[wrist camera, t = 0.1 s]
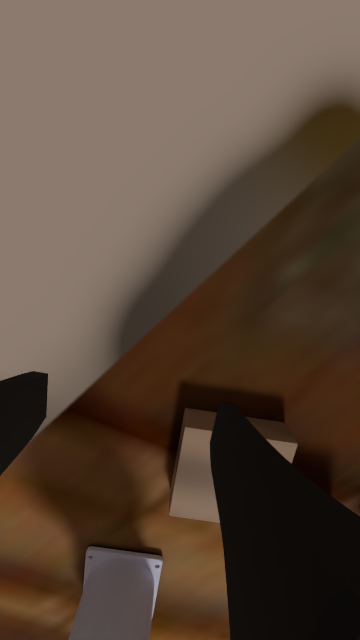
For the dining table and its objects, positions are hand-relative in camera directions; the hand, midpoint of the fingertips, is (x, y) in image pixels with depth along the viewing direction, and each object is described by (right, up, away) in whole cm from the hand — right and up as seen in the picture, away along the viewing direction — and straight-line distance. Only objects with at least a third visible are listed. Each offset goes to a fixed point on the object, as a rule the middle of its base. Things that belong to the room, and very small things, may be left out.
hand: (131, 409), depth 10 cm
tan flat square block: (+6, -9, +13) cm, 17 cm away
